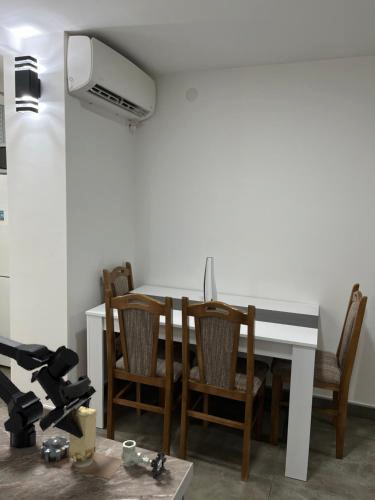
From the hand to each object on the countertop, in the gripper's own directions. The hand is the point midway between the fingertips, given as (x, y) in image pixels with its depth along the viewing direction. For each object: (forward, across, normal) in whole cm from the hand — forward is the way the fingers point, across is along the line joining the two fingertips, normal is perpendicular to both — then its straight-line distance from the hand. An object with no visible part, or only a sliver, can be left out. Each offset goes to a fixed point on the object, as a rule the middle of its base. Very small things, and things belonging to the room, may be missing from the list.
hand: (87, 432), depth 106 cm
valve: (+17, +4, -4) cm, 18 cm away
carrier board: (+5, 0, +8) cm, 10 cm away
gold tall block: (+4, 0, +6) cm, 7 cm away
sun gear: (-1, 0, +13) cm, 13 cm away
